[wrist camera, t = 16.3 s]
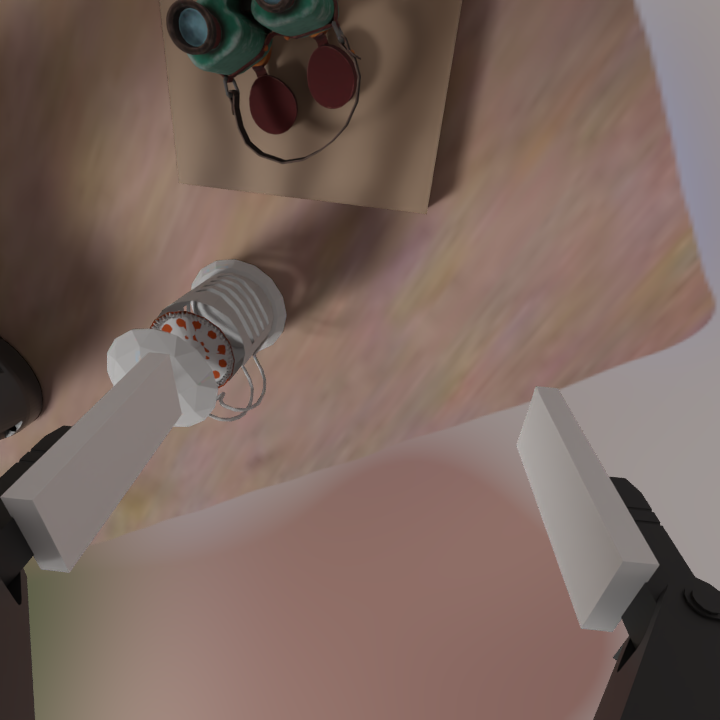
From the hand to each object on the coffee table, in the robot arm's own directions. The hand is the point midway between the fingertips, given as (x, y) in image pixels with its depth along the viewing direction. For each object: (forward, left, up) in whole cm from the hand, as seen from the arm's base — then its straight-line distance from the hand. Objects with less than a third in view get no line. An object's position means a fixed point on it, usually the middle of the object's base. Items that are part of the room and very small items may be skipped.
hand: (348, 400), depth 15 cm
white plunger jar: (-14, -9, -24) cm, 29 cm away
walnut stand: (-8, +11, -24) cm, 28 cm away
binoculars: (-8, +11, -22) cm, 26 cm away
